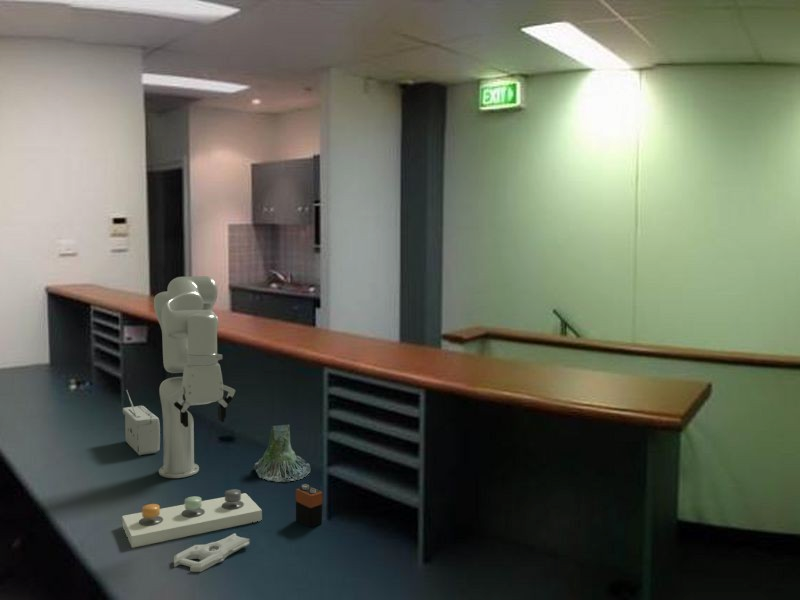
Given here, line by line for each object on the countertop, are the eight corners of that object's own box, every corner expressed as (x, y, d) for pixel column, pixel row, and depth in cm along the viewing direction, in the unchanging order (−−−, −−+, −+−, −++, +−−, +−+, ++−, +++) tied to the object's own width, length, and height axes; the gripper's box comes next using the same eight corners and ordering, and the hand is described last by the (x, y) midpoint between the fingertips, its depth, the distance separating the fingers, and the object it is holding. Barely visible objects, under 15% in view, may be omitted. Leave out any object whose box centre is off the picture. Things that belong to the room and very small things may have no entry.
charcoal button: (222, 497, 194) (222, 491, 193) (238, 495, 196) (238, 488, 196) (227, 503, 190) (227, 496, 190) (242, 500, 192) (242, 493, 192)
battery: (307, 516, 194) (307, 481, 193) (322, 523, 189) (323, 488, 188) (294, 520, 191) (295, 485, 190) (310, 528, 186) (310, 492, 185)
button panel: (122, 526, 185) (122, 515, 185) (245, 502, 202) (245, 492, 202) (132, 547, 173) (131, 535, 173) (261, 520, 190) (261, 509, 190)
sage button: (182, 505, 188) (182, 498, 188) (199, 502, 190) (199, 495, 190) (186, 511, 184) (186, 503, 184) (203, 507, 186) (203, 500, 186)
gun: (225, 525, 179) (252, 536, 174) (226, 537, 180) (253, 548, 174) (166, 555, 164) (193, 568, 159) (167, 568, 165) (194, 582, 159)
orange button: (140, 513, 182) (140, 505, 182) (157, 509, 185) (157, 502, 184) (143, 519, 179) (143, 511, 178) (161, 515, 181) (161, 508, 181)
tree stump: (256, 487, 216) (252, 429, 218) (253, 480, 235) (249, 427, 237) (314, 479, 221) (310, 422, 223) (306, 473, 240) (302, 421, 242)
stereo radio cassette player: (161, 453, 245) (160, 398, 243) (137, 457, 240) (135, 401, 238) (145, 438, 262) (144, 386, 260) (122, 441, 257) (121, 389, 255)
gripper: (229, 355, 190) (230, 416, 191) (165, 360, 181) (166, 424, 182) (239, 359, 183) (239, 422, 185) (172, 365, 174) (174, 431, 176)
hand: (203, 423), depth 183 cm, fingers open, 9 cm apart
